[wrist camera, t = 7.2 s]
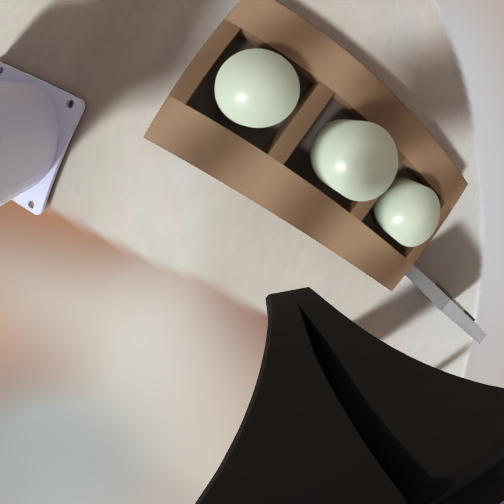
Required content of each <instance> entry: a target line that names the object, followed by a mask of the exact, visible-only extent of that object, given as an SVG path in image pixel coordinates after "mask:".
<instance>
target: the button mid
mask: <svg viewBox="0 0 504 504" xmlns="http://www.w3.org/2000/svg"><path fill="white" fill-rule="evenodd" d="M310 157H311V164H312V167H313V169H314V171H315V173H316V175H317V176H318V177H319V179H320V180H321V181H323V182H324V183H325V184H327V185H328V186H330V187H331V188H333V189H334V190H336V191H337V192H339V193H340V194H342V195H343V196H345V197H346V198H348V199H351V200H354V201H369V200H373V199H375V198H377V197H379V196H380V195H382V194H383V193H384V192H385V191H386V190H387V189H388V188H389V187H390V185H391V184H392V182H393V180H394V178H395V176H396V173H397V169H398V152H397V148H396V145H395V142H394V140H393V139H392V137H391V136H390V134H389V133H388V132H387V131H386V130H385V129H384V128H382V127H381V126H379V125H377V124H375V123H372V122H367V121H358V120H347V119H339V120H334V121H331V122H329V123H327V124H326V125H324V126H323V127H322V128H321V129H320V130H319V131H318V132H317V134H316V135H315V137H314V139H313V142H312V145H311V151H310Z"/></svg>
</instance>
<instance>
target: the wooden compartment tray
mask: <svg viewBox="0 0 504 504" xmlns="http://www.w3.org/2000/svg"><path fill="white" fill-rule="evenodd" d="M255 48H256V49H266V50H270V51H273V52H275V53H277V54H279V55H281V56H282V57H284V58H285V59H286V60H287V61H288V62H289V63H290V64H291V65H292V66H293V68H294V70H295V71H296V73H297V76H298V79H299V84H300V94H299V99H298V102H297V104H296V107H295V108H294V110H293V111H292V112H291V114H290V115H289V116H288V117H287V118H286V119H284V120H283V121H281V122H279V123H278V124H275V125H273V126H269V127H264V128H253V127H247V126H243V125H240V124H237V123H235V122H233V121H231V120H230V119H228V118H227V117H226V116H225V115H224V114H223V113H222V112H221V111H220V109H219V107H218V105H217V103H216V100H215V93H214V89H215V80H216V77H217V74H218V72H219V69H220V68H221V66H222V65H223V64H224V62H225V61H226V60H227V59H229V58H230V57H231V56H233V55H234V54H236V53H238V52H240V51H243V50H247V49H255ZM339 119H347V120H358V121H367V122H372V123H375V124H377V125H379V126H381V127H382V128H384V129H385V130H386V131H387V132H388V133H389V134H390V136H391V137H392V139H393V140H394V142H395V145H396V148H397V152H398V169H397V173H396V176H395V177H399V176H400V177H406V178H408V179H410V180H412V181H415V182H417V183H419V184H422V185H424V186H426V187H428V188H430V189H432V190H433V191H434V192H435V193H436V195H437V197H438V199H439V202H440V218H439V222H438V225H437V227H436V229H435V231H434V232H433V234H432V235H431V236H430V238H429V239H428V240H426V241H425V242H424V243H422V244H420V245H418V246H414V247H407V246H404V245H402V244H400V243H399V242H398V241H397V240H395V239H394V238H393V237H392V236H390V235H389V234H388V233H386V232H385V231H384V230H383V229H381V228H380V227H379V226H378V225H377V223H376V221H375V219H374V216H373V205H374V203H375V202H376V200H377V199H378V198H379V197H377V198H375V199H373V200H369V201H354V200H351V199H348V198H346V197H345V196H343V195H342V194H340V193H339V192H337V191H336V190H334V189H333V188H331V187H330V186H328V185H327V184H325V183H324V182H323V181H321V180H320V179H319V177H318V176H317V175H316V173H315V171H314V169H313V167H312V164H311V157H310V151H311V145H312V142H313V139H314V137H315V135H316V134H317V132H318V131H319V130H320V129H321V128H322V127H323V126H324V125H326V124H327V123H329V122H331V121H334V120H339ZM144 138H145V139H147V140H149V141H151V142H153V143H155V144H156V145H158V146H160V147H162V148H164V149H165V150H167V151H169V152H171V153H172V154H174V155H176V156H178V157H179V158H181V159H183V160H185V161H187V162H188V163H190V164H192V165H193V166H195V167H197V168H199V169H200V170H202V171H204V172H206V173H207V174H209V175H211V176H212V177H214V178H216V179H218V180H219V181H221V182H223V183H224V184H226V185H228V186H229V187H231V188H233V189H234V190H236V191H238V192H239V193H241V194H243V195H244V196H246V197H248V198H249V199H251V200H253V201H254V202H256V203H257V204H259V205H261V206H262V207H264V208H266V209H267V210H269V211H270V212H272V213H274V214H275V215H277V216H278V217H280V218H282V219H283V220H285V221H286V222H288V223H290V224H291V225H293V226H294V227H296V228H297V229H299V230H301V231H302V232H304V233H305V234H307V235H308V236H310V237H312V238H313V239H315V240H316V241H318V242H319V243H321V244H322V245H324V246H325V247H327V248H328V249H330V250H332V251H333V252H335V253H336V254H338V255H339V256H341V257H342V258H344V259H345V260H347V261H348V262H350V263H351V264H353V265H354V266H356V267H357V268H359V269H360V270H362V271H363V272H365V273H366V274H367V275H369V276H370V277H372V278H373V279H375V280H376V281H378V282H379V283H381V284H382V285H384V286H385V287H386V288H388V289H389V290H391V291H392V290H393V289H394V288H395V287H396V286H397V284H398V283H399V282H400V281H401V279H402V278H403V277H404V276H405V274H406V273H407V272H408V270H409V269H410V268H411V267H412V265H413V264H414V263H415V261H416V260H417V259H418V257H419V256H420V255H421V253H422V252H423V251H424V249H425V248H426V247H427V245H428V244H429V242H430V241H431V240H432V238H433V237H434V235H435V234H436V232H437V231H438V230H439V228H440V227H441V225H442V224H443V222H444V221H445V219H446V218H447V216H448V215H449V213H450V212H451V210H452V209H453V207H454V206H455V204H456V203H457V201H458V199H459V198H460V196H461V195H462V193H463V191H464V190H465V188H466V186H467V185H468V183H467V182H466V180H465V179H464V177H463V176H462V174H461V173H460V172H459V170H458V169H457V168H456V166H455V165H454V163H453V162H452V161H451V159H450V158H449V157H448V156H447V154H446V153H445V152H444V150H443V149H442V148H441V147H440V145H439V144H438V143H437V142H436V140H435V139H434V138H433V137H432V136H431V134H430V133H429V132H428V131H427V130H426V128H425V127H424V126H423V125H422V124H421V123H420V122H419V120H418V119H417V118H416V117H415V116H414V115H413V114H412V113H411V112H410V111H409V109H408V108H407V107H406V106H405V105H404V104H403V103H402V102H401V101H400V100H399V99H398V98H397V97H396V96H395V95H394V94H393V93H392V92H391V91H390V90H389V89H388V88H387V87H386V86H385V85H384V84H383V83H382V82H381V81H380V80H379V79H378V78H377V77H375V76H374V75H373V74H372V73H371V72H370V71H369V70H368V69H367V68H366V67H364V66H363V65H362V64H361V63H360V62H359V61H358V60H356V59H355V58H354V57H353V56H352V55H350V54H349V53H348V52H347V51H346V50H344V49H343V48H342V47H341V46H339V45H338V44H337V43H336V42H334V41H333V40H332V39H330V38H329V37H328V36H326V35H325V34H324V33H322V32H321V31H320V30H318V29H317V28H316V27H314V26H313V25H311V24H310V23H309V22H307V21H306V20H304V19H303V18H301V17H300V16H298V15H297V14H295V13H294V12H292V11H291V10H289V9H287V8H286V7H284V6H283V5H281V4H279V3H278V2H276V1H275V0H241V1H240V2H239V3H238V4H237V5H236V6H235V7H234V8H233V10H232V11H231V12H230V13H229V14H228V15H227V17H226V18H225V19H224V20H223V21H222V23H221V24H220V25H219V26H218V28H217V29H216V30H215V31H214V33H213V34H212V35H211V36H210V38H209V39H208V40H207V42H206V43H205V44H204V45H203V47H202V48H201V49H200V51H199V52H198V53H197V55H196V56H195V58H194V59H193V60H192V62H191V63H190V65H189V66H188V67H187V69H186V70H185V72H184V73H183V75H182V76H181V77H180V79H179V80H178V82H177V83H176V85H175V86H174V88H173V89H172V91H171V92H170V94H169V96H168V97H167V99H166V100H165V102H164V103H163V105H162V107H161V108H160V110H159V112H158V113H157V115H156V116H155V118H154V120H153V121H152V123H151V125H150V127H149V128H148V130H147V132H146V134H145V135H144Z"/></svg>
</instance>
